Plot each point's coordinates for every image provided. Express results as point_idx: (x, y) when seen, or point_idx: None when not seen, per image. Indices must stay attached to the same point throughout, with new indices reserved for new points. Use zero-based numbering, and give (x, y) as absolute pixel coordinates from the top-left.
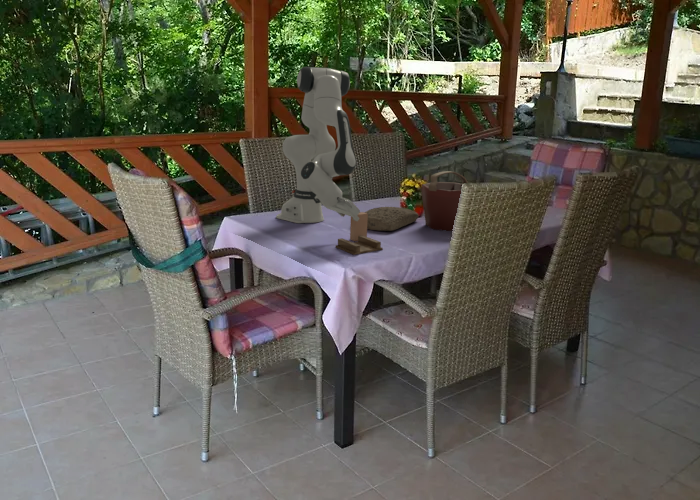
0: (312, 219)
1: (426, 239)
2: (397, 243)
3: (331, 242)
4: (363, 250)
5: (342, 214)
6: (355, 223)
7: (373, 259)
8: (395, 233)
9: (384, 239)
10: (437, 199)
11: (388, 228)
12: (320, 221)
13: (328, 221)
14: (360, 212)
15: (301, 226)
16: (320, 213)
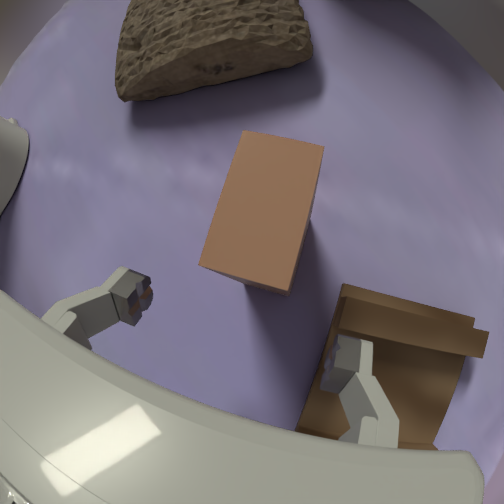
0: (5, 187)
1: (448, 72)
2: (446, 177)
3: (211, 397)
4: (436, 420)
5: (139, 310)
6: (285, 292)
7: (490, 440)
8: (324, 60)
9: (368, 157)
10: None
11: (305, 59)
12: (25, 161)
13: (42, 133)
14: (243, 159)
15: (6, 255)
16: (6, 145)
